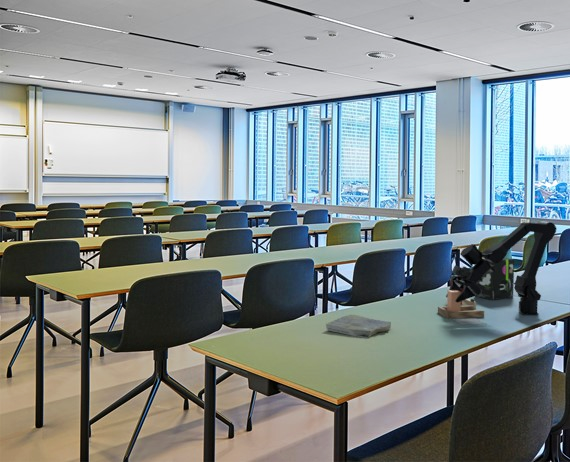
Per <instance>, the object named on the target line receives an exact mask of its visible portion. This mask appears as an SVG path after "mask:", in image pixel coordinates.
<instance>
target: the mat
mask: <svg viewBox="0 0 570 462" xmlns="http://www.w3.org/2000/svg"><path fill="white" fill-rule="evenodd" d="M451 320H452V321H454V322H456V323H457V324H458V325H460V326H475V325H487V323H486V322H484V321H482V320H480V319H478V318H477V317H472V318H451Z"/></svg>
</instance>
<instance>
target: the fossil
mask: <svg viewBox="0 0 570 462" xmlns="http://www.w3.org/2000/svg"><path fill="white" fill-rule="evenodd" d="M325 327H326V330H327V331H329V332H333V333H338V334H339V333H340V334H344V335H347V336H348V335H349V336H352V337H357V338H358V337H359V338H365V339H368V338H369V337H371V336H374V335H375V334H377V333H378V334H379V333H381V332H387V331H390V329H391V327H392V322H391V321H385V320H380V319H374V318H369V317H364V316H361V315H358V314H348V315H344V316H342V317H340V318H337V319H335V320H333V321H330V322H328V323H326V325H325Z"/></svg>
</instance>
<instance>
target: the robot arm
mask: <svg viewBox="0 0 570 462" xmlns="http://www.w3.org/2000/svg"><path fill="white" fill-rule="evenodd" d="M556 226H557V225H555V224H554V223H553V222H549V221H538V222H529V221H522V222H521V223H520V224H519V226H518V227H516V228H515V229H513V231H511V233H510V234H508V235H506V237H505V238H503V239H502V240H501V241H500V242H498V243H496V244H493V245H490V247H488V248H487V249H485V250H484V251H483V250H482V251H480V250H479V248H478V247H477V246H476V245H475V244H474V243H471V244H470V245H468V246H467V247H464V248H463V249H462V250H461V252H460V256H461V257H462V258H463V259H464V260H465V261H466V263H468V264H469V265H470V266H471V265H472V267H471V268H469V267H467V266H462V267H461V266H459V265H454V267H453V268H452V271H451V273H453V274H452V275H451V276H450V277H449V279H451V280H449V282H450V281H451V287H450V286H449V290H458V291H462V289H463V291H462V292H461V294H460V295H459V296H458V297H457V299H456V300H455V301H456V302H457V303H458V302H460V301H463V300H465V299H472V298H473V297H477V296H479V295H480V294H481V293H482V289H481V288H480V287H479V286H478V285H477V283H478V282H479V281H482V280H483V279H482V277H483V276H484V275H485V274H486V273H487V272H488V271H489V270H490V271H492V272H495V266H494V265H491V264H490V263H489V262H493V263H500V262H501V261H502V260H503V259H504V258H506V256H507V255H508V252H509V251H510V250H511V249H512V248H513V247H514V246H516V244H518V242H520V241H521V240H522V239H524V237H526V236H527V235H528V234H529V233H533V235H534V236H533V237H534V242H533V245H532V247H531V248H532V249H531V251H530V254H529V257H528V260H527V262H526V265H525V268H524V270H523V273H522V274H521V275H516V278H515V280H514V281H515V282H514V286H513V290H514V291H515V292H516V293H517V295H518V297H519V298H520V300H519V301H518V312H519V313H520V314H522V315H535V316H536V315H539V314H540V313H538V302H539V301H540V300H541V297H542V295H541V294H540V293H539V292H538V291H537V279H536V278H537V277H536V276H537V273H538V271H539V268H540V265H541V262H542V260H543V256H544V254H545V250H546V247H547V245H548V244H549V243H550V241H552V240H553V238H554V237H555V234H556V233H557V227H556ZM482 258H485V259H486V260H487V261H484V260H483V259H482ZM488 261H489V262H488ZM476 295H477V296H476ZM445 297H446V298H447V294H446V295H445Z"/></svg>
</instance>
